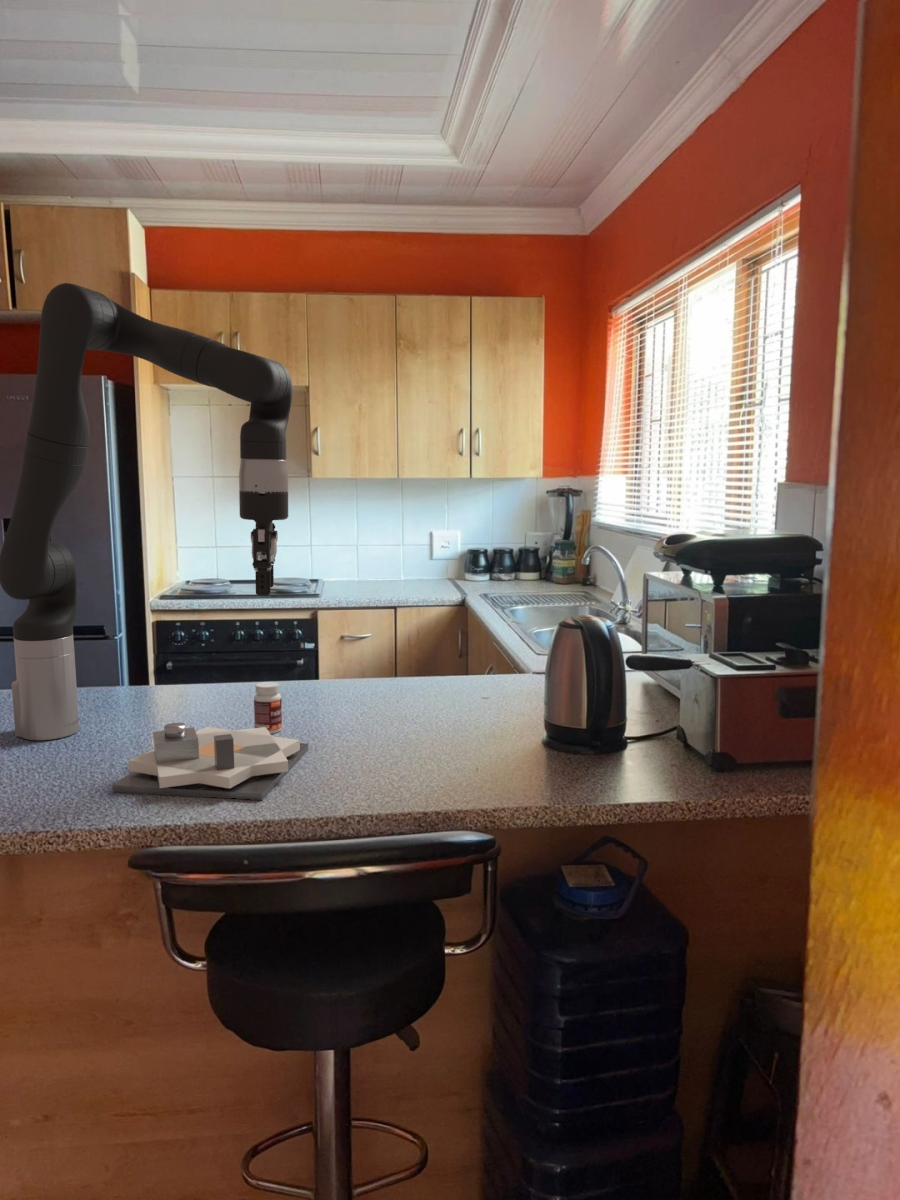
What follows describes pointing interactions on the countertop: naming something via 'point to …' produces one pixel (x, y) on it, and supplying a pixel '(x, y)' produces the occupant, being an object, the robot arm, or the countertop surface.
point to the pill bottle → (268, 707)
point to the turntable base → (247, 789)
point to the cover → (175, 743)
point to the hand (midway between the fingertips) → (265, 591)
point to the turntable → (222, 758)
